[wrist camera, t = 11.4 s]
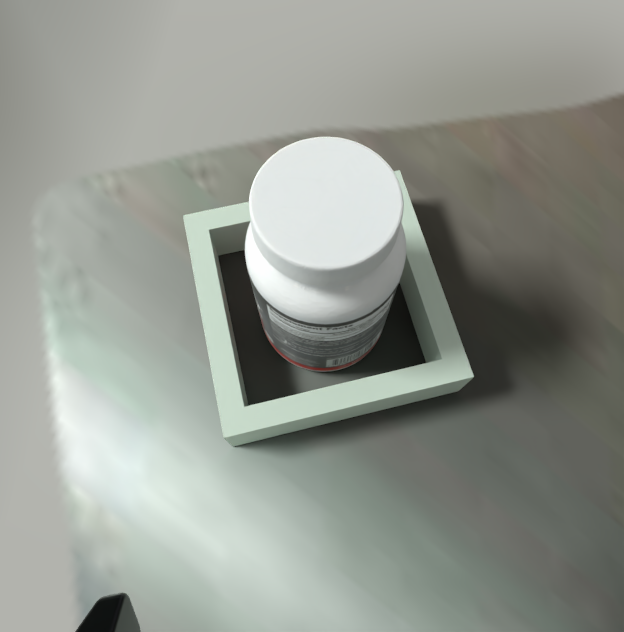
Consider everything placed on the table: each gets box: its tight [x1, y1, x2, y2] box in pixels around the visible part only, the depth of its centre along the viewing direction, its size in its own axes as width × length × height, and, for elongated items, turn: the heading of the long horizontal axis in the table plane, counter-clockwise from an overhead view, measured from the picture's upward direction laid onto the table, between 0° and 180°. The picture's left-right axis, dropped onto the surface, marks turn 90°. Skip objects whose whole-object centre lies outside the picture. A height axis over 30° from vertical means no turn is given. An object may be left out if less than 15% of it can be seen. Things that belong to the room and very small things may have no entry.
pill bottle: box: [245, 137, 406, 372], centre depth 21 cm, size 6×6×10 cm
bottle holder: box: [183, 170, 474, 447], centre depth 24 cm, size 10×10×2 cm
